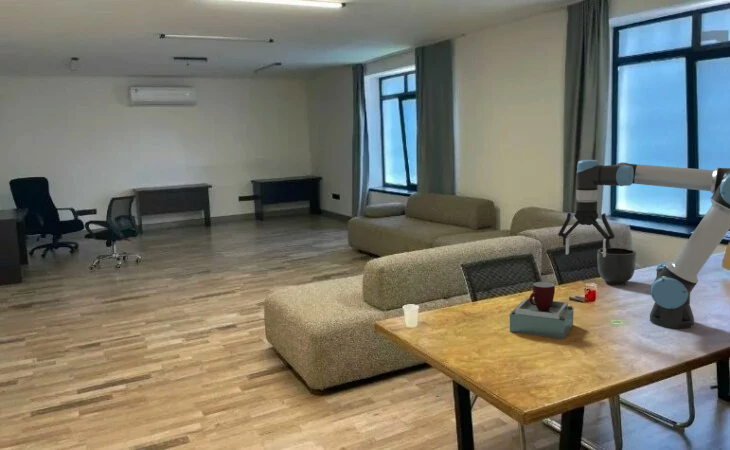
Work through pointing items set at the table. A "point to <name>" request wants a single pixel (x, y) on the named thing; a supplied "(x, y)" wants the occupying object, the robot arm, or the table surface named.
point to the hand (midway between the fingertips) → (585, 255)
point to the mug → (542, 295)
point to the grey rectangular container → (542, 319)
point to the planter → (616, 265)
